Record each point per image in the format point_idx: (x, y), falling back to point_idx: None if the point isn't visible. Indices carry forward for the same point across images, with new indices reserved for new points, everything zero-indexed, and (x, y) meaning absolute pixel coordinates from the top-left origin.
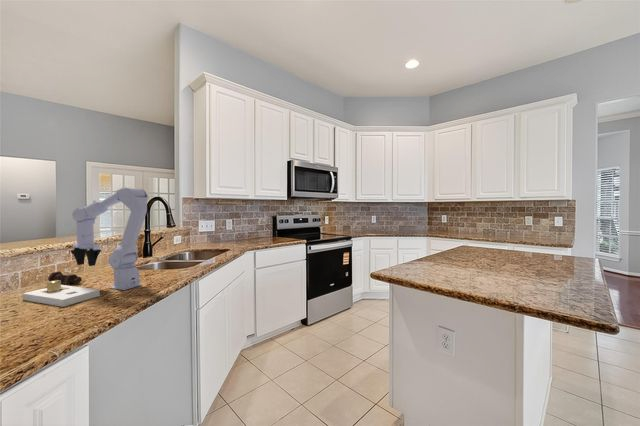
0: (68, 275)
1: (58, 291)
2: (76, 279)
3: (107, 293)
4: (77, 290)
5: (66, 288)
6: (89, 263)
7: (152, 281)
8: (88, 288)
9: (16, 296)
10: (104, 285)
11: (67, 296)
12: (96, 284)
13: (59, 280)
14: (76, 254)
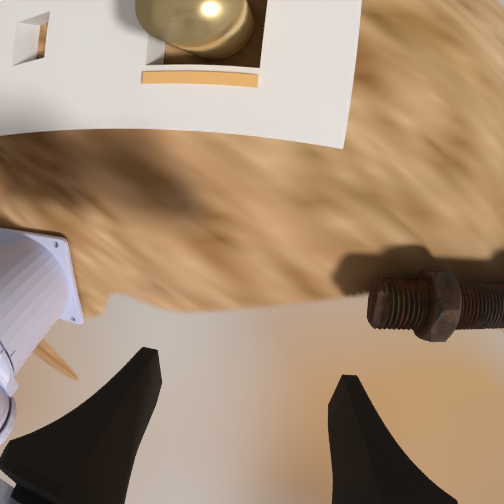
0: (450, 309)
1: (134, 11)
2: (377, 297)
3: (3, 171)
4: (43, 78)
5: (154, 71)
6: (128, 364)
7: (37, 347)
8: (28, 130)
9: (479, 21)
10: (157, 284)
11: (2, 8)
12: (233, 297)
13: (175, 36)
14: (369, 485)
